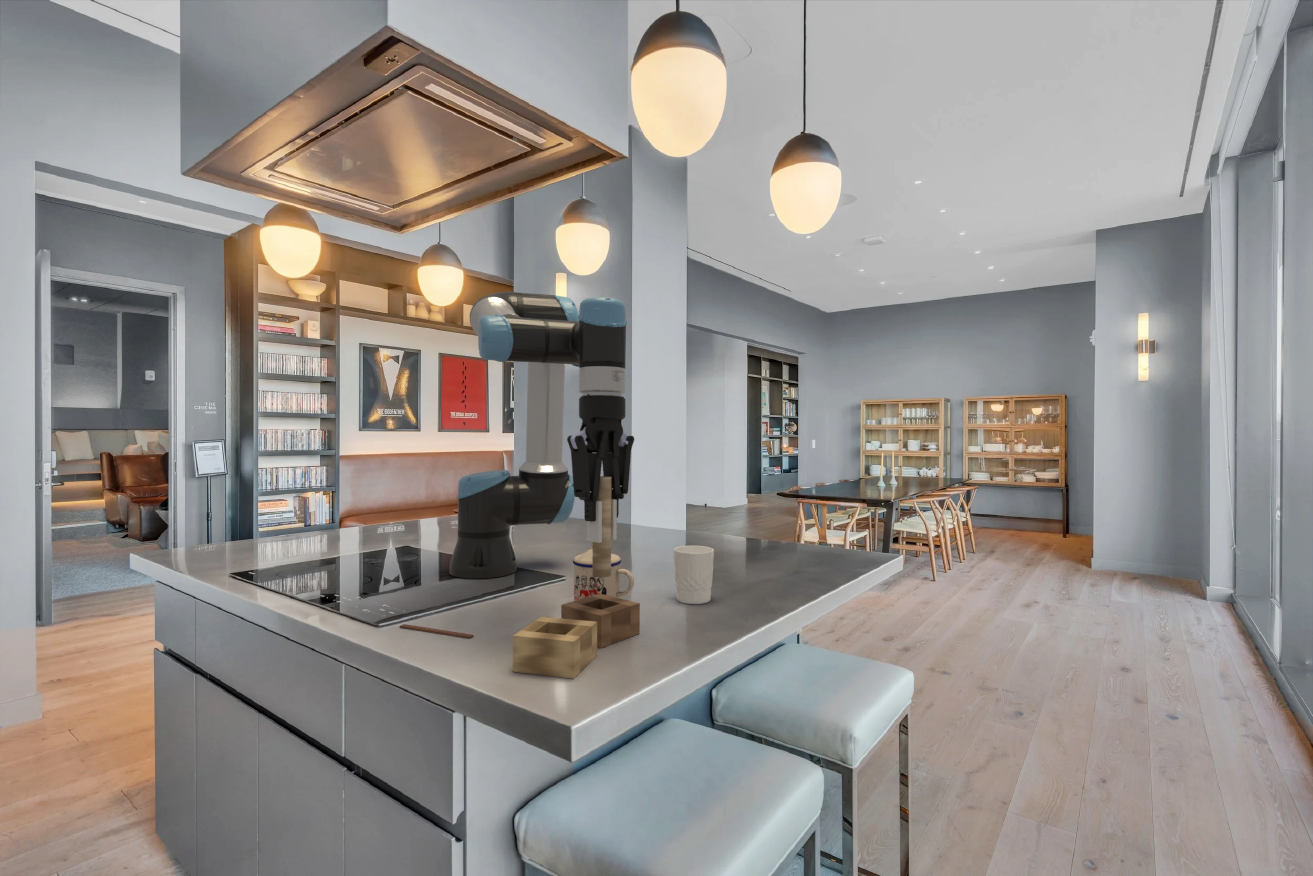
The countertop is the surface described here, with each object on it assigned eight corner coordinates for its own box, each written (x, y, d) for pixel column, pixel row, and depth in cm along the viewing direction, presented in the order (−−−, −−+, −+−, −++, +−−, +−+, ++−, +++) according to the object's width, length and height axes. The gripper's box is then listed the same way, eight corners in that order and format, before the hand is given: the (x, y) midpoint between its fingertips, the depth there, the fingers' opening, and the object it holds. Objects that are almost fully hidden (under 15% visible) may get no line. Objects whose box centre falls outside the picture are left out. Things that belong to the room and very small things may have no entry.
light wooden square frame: (512, 671, 86) (513, 635, 86) (540, 649, 95) (541, 616, 95) (573, 678, 84) (574, 641, 84) (596, 655, 93) (597, 621, 92)
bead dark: (561, 635, 101) (561, 604, 101) (600, 622, 108) (600, 593, 108) (600, 648, 96) (601, 615, 96) (639, 633, 103) (639, 603, 102)
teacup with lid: (564, 609, 116) (564, 546, 116) (585, 597, 124) (586, 538, 124) (623, 616, 112) (624, 551, 112) (642, 603, 120) (642, 543, 120)
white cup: (714, 605, 119) (715, 553, 119) (673, 605, 120) (674, 552, 119) (712, 594, 127) (712, 545, 127) (673, 594, 127) (673, 545, 127)
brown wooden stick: (399, 627, 105) (399, 625, 105) (404, 625, 106) (404, 624, 106) (469, 638, 99) (469, 636, 99) (473, 636, 100) (473, 634, 100)
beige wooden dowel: (588, 575, 101) (589, 476, 101) (601, 572, 104) (602, 476, 103) (601, 578, 99) (602, 477, 99) (614, 575, 102) (615, 476, 102)
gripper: (583, 391, 93) (582, 549, 93) (651, 396, 105) (650, 536, 105) (549, 393, 98) (548, 543, 98) (618, 398, 110) (618, 532, 110)
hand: (601, 539), depth 101 cm, fingers closed on beige wooden dowel, 3 cm apart
